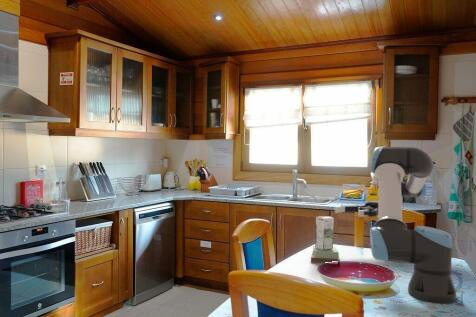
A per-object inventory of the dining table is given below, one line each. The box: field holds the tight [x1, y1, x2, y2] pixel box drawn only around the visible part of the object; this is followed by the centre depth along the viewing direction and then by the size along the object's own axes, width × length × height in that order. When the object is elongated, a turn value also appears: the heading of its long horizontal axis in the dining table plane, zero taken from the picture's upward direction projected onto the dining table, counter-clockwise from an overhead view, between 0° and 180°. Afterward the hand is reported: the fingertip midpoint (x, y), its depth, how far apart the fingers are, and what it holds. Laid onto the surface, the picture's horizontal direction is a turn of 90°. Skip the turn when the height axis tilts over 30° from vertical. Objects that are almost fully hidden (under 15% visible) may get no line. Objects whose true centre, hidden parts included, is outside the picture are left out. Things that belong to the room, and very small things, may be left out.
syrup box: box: [314, 215, 335, 250], centre depth 182 cm, size 6×6×14 cm
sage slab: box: [312, 245, 339, 259], centre depth 182 cm, size 10×10×3 cm
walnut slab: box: [310, 251, 340, 264], centre depth 182 cm, size 12×12×3 cm
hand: (346, 211), depth 189 cm, fingers open, 13 cm apart
